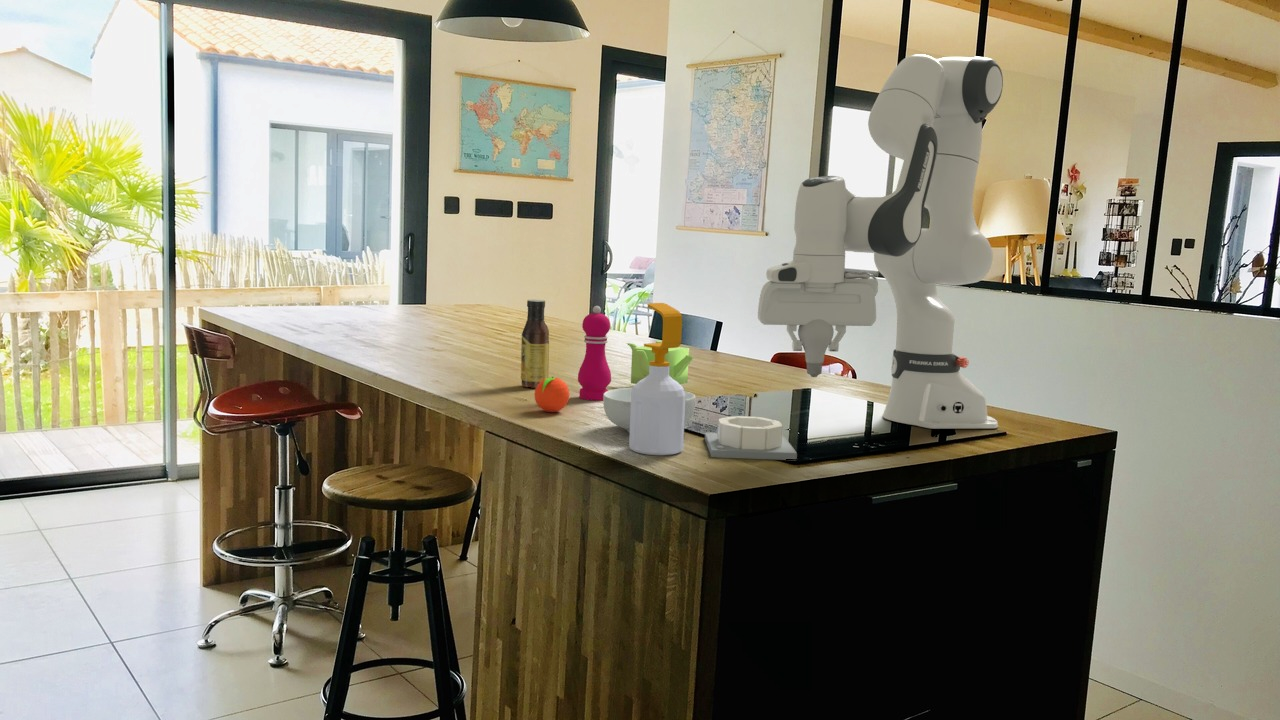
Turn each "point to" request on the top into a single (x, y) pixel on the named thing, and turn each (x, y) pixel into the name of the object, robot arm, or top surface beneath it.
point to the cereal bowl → (620, 406)
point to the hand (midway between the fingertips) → (815, 350)
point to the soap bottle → (659, 396)
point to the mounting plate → (748, 450)
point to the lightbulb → (815, 343)
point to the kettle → (675, 357)
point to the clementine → (551, 394)
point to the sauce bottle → (534, 346)
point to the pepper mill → (595, 357)
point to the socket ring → (749, 432)
